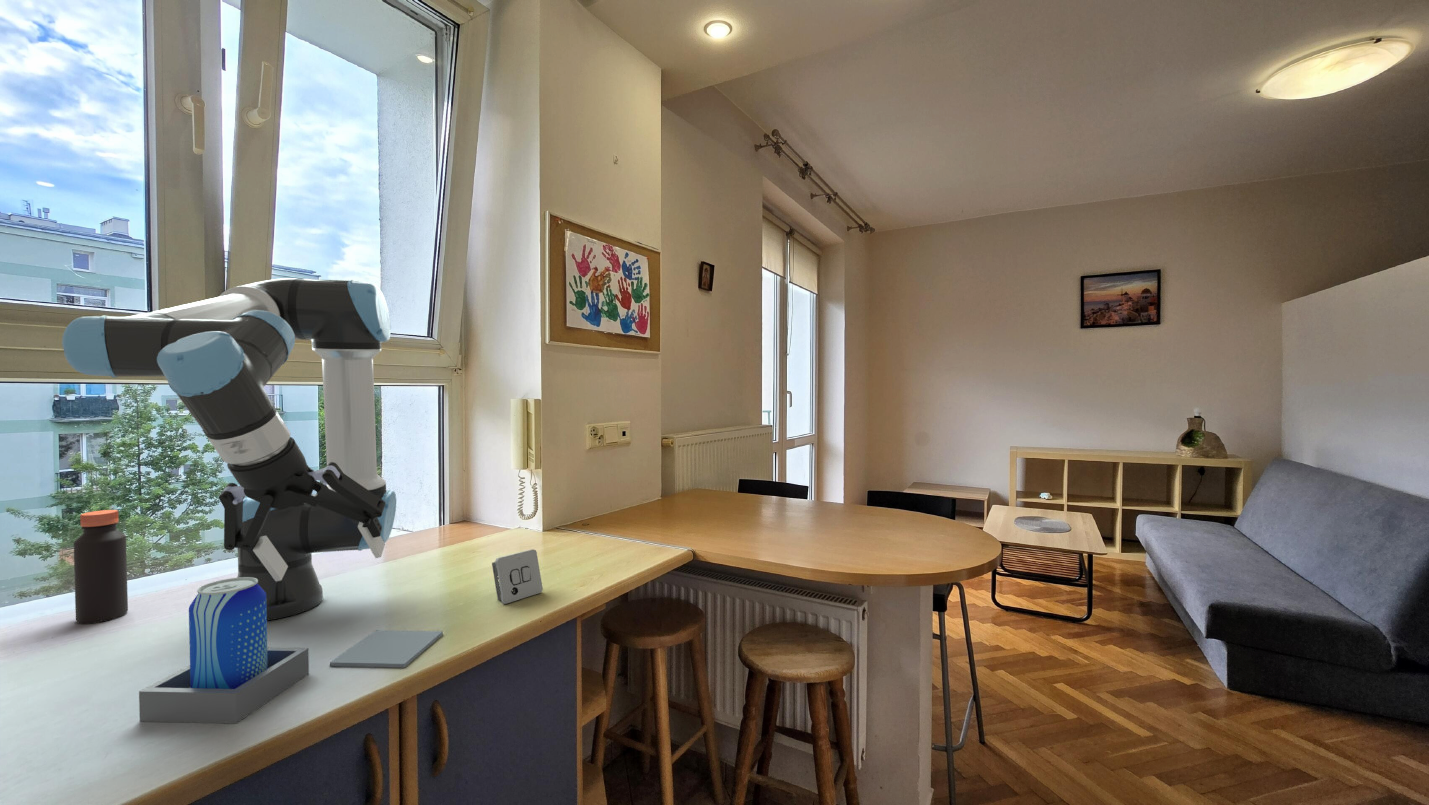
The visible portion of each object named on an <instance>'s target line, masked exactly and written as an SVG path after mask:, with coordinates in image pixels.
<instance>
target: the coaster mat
mask: <svg viewBox="0 0 1429 805" xmlns="http://www.w3.org/2000/svg"><path fill="white" fill-rule="evenodd" d="M442 636H444V631H441V630H439V631H438V630H390V629H387V630H386V629H382V630H380V629H377V630H374V631H372V633H370V634H368V635H367V636H365V637H364V638H362V640H360V641H359V642H357V643H356V644H354V645H353V646H351V647H350V648H348V649H346V651H344V652H343V653H341V654H340V655H338V656H337V657H336V658H334V659H332V660H331V661H330V662H329V667H348V668H349V667H355V668H357V667H358V668H406V667H408V665H409V664H411V663H412V662H413V661H414V660H415V659H417V658H418V657H420V655H421V654H423V653H424V652H425V650H427V649H428V648H429V647H430V646H432V645H433V644H434V643H436V642H437V640H439V639H440V638H441V637H442Z"/></svg>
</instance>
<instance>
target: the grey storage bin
mask: <svg viewBox="0 0 1429 805" xmlns="http://www.w3.org/2000/svg"><path fill="white" fill-rule="evenodd" d="M309 656H310V655H309V648H308V647H269V646H267V659H268V669H267V670H265V671H264V672H262V673H260V674H259V675H257V676H255V677H254V678H252V679H250V680H249V681H247V682H246V683H244V684H242V685H241V686H239V687H237V688H236V689H203V688H190V664H189V665H188V666H185V667H184V668H181V669H179V670H178V671H175V672H173V673H172V674H170V675H168V676H166V677H163V678H162V679H160V680H158V681H156V682H155V683H153V684H151V685H149V686H147V687H145V688H143V689H141V690H139V691H138V701H139V702H138V703H139V709H138V710H139V722H156V723H201V724H202V723H203V724H205V723H207V724H208V723H209V724H238V723H239V722H241V721H242V720H243V719H245V718H247V717H248V716H249V715H251V714H253V713H254V712H255V711H256V710H259V708H261V707H262V706H264V705H266V704H267V703H269V702H270V701H271V700H273V699H274V698H276V697H278V695H280V694H282V693H283V692H284V691H286V690H288V689H289V688H291V687H292V686H293V685H295V684H297V683H298V682H299V681H301V680H302V679H303V678H305V677H307V676H308V675H309V674H310V669H309V668H310V666H309V664H310V660H309V658H310V657H309Z"/></svg>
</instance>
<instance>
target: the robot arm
mask: <svg viewBox="0 0 1429 805" xmlns="http://www.w3.org/2000/svg"><path fill="white" fill-rule="evenodd" d="M391 329H392V326H391V318H390V311H389V307H388V304H387V301H386V298H385V296H384V293H383V292H382V291H381V289H380V288H379V287H378V286H377V285H375V284H374V283H371V282H365V281H355V280H353V279H351V280H349V279H348V280H342V279H340V280H339V279H314V278H313V279H312V278H299V277H298V278H297V277H284V278H275V279H269V280H262V281H256V282H252V283H247V284H243V285H238V286H234V287H231V288H228V289H226V290H225V291H223V292H222V293H221V294H220V295H219V296H217V297H213V298H212V297H211V298H208V299H204V300H200V301H194V302H191V303H186V304H180V305H175V306H173V307H169V308H162V309H160V310H159V309H158V310H154V311H150V312H145V313H139V314H134V315H130V316H109V315H108V314H107V315H105V314H103V315H101V316H81V317H77V318H75V319H73V320H72V321H71V322H70V323H68V324H67V326H66V327H65V329H64V332H63V333H62V334H63V335H62V338H61V339H62V340H61V341H62V342H61V346H62V347H63V352H64V354H63V356H64V357H65V360H66V361H67V363H68V364H69V366H70V367H72V368H73V369H74V370H75V371H76V372H79V373H80V374H82V375H86V376H98V377H99V376H100V377H102V376H103V377H110V378H111V377H112V378H115V379H116V378H118V377H119V378H120V377H121V378H122V377H129V378H130V377H165V379H166V381H167V383H168V385H169V388H170V389H171V391H172V392H174V393H175V394H176V395H177V397H178V398H179V400H180V401H181V403H183V405H184V406H185V407H186V409H187V410H188V412H189V413H190V414H191V416H192V418H194V420H195V421H196V422H197V423H198V425H199V426H200V428H201V429H202V430H201V431H202V432H203V433H204V435H205V436H206V438H207V439H208V441H209V442H210V444H211V446H213V448H214V449H215V451H216V452H217V454H218V455H219V457H220V459H221V460H222V461H223V462H224V463H225V464H227V465H226V467H227V468H228V470H229V472H230V473H231V475H232V476H233V478H234V479H235V480H236V482H237V483H238V484H239V485H238V484H236V483H234V482H228V483H227V484H226V486H225V488H224V489H223V490H222V491H221V492H220V494H219V496H218V499H219V501H220V504H222V506H223V509H224V511H223V512H224V515H223V516H224V517H223V518H224V520H223V521H224V523H223V524H224V525H223V527H224V528H223V548H224V549H225V550H226V551H233V550H235V548H236V549H237V577H236V578H239V577H253V578H256V579H258V585H259V586H260V587H261V588H262V589H263V590H264V591H265V593H266V606H267V621H271V620H278V619H282V618H287V617H291V616H294V615H298V614H301V613H304V612H305V611H309V610H311V609H313V608H315V607H317V606H318V605H320V604H321V603H322V602H323V599H324V596H323V595H324V593H323V592H324V591H323V586H322V585H321V584H320V580H319V578H318V576H317V573H316V571H315V568H314V565H313V561H312V560H313V559H312V554H313V553H315V554H316V553H331V552H343V551H344V552H345V551H346V552H347V551H363V550H368V549H369V550H370V551H371V553H372V555H373V556H374V558H375V559H379V558H381V557H382V556H383V552H384V549H385V545H386V543H387V542H388V540H389V538H390V536H391V534H392V530H393V526H394V523H395V518H396V517H395V516H396V510H397V496H396V495H397V494H396V491H394V490H391V489H387V482H386V480H385V478H383V477H381V476H380V475H379V474H378V464H377V461H378V460H377V441H376V440H377V436H376V433H377V432H376V411H375V409H376V408H375V407H376V406H375V404H376V403H375V382H374V381H375V380H374V378H375V377H374V375H375V374H374V358H375V357H376V356H377V355H378V354H379V353H380V352H382V343H386V342H387V341H390V338H391V333H392V332H391ZM296 340H309V341H311V349H312V351H314V353H315V354H317V355H318V356H319V357H320V359H321V363H322V364H321V365H322V366H321V369H322V388H323V406H324V408H323V409H324V410H323V411H324V412H323V413H324V429H325V430H324V433H325V434H324V435H325V448H326V449H325V453H326V467H324V468H323V467H322V468H319V469H317V470H314V469H312V468H311V467H309V465H308V462H307V460H306V458H305V456H304V454H303V453H302V451H301V448H300V447H299V445H298V443H297V442H296V441H295V439H294V438H293V437H291V432H290V429H289V428H288V427H287V425H286V423H285V422H284V420H283V418H282V417H281V416H280V414H279V412H278V410H277V409H276V407H275V405H274V404H273V402H272V400H271V399H270V397H269V395H268V394H267V392H266V389H265V386H266V385H267V384H268V382H269V381H271V379H272V377H274V375H275V374H276V373H277V371H279V369H281V367H282V366H283V365H284V364H285V363H286V362H287V361H288V359H289V357H290V356H289V355H290V354H291V352H292V350H293V349H294V347H295V345H296V344H295V343H296ZM314 491H315V492H316V493H314V494H313V492H314Z"/></svg>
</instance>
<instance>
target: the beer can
mask: <svg viewBox="0 0 1429 805" xmlns="http://www.w3.org/2000/svg"><path fill="white" fill-rule="evenodd" d="M196 592H197V594H196V596H195V597H194V599H193V600H192V602H191V603H190V605H189V607H188V631H189V632H188V634H189V635H188V636H189V637H188V638H189V665H190V688H203V689H236V688H237V687H239V686H241V685H242V684H244V683H246V682H247V681H249V680H250V679H252V678H254V677H255V676H257V675H259V674H260V673H262V672H264V671H265V670H267V669H268V659H267V647H268V622H267V621H268V620H267V606H266V593H265V591H264V590H263V589H262V588H261V587H260V586H259V585H258V579H256V578H253V577H239V578H237V577H231V578H224V579H219V580H216V581H212V582H209V583H207V584H204V585H201V586H200V587H198V589H197V591H196Z"/></svg>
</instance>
